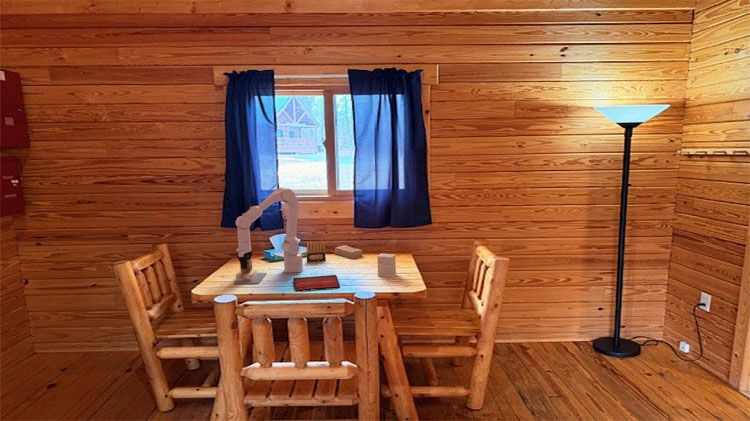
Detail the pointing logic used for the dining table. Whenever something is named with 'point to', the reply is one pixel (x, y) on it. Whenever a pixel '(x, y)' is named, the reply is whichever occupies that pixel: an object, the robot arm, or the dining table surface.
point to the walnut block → (249, 266)
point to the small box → (386, 265)
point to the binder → (316, 282)
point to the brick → (348, 252)
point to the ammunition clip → (316, 252)
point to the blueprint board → (255, 281)
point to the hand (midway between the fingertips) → (245, 267)
